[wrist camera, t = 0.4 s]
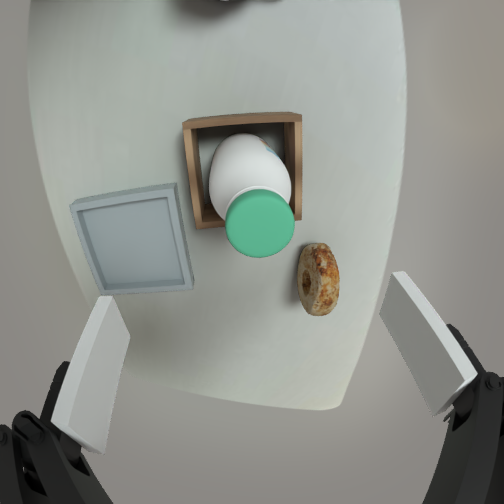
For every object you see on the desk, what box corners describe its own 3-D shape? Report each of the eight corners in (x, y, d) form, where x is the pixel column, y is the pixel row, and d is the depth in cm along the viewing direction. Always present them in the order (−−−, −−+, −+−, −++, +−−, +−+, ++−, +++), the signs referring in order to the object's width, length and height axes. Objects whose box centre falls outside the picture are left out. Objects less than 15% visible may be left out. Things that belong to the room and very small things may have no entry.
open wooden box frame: (189, 118, 31) (182, 122, 26) (289, 111, 32) (301, 114, 27) (200, 209, 38) (196, 229, 33) (290, 202, 39) (301, 220, 34)
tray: (76, 199, 35) (69, 205, 33) (176, 182, 36) (173, 188, 34) (105, 286, 43) (101, 295, 41) (194, 279, 44) (192, 289, 42)
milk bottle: (210, 185, 36) (197, 274, 19) (216, 129, 33) (206, 164, 16) (267, 191, 38) (303, 281, 21) (277, 136, 34) (331, 181, 17)
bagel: (300, 231, 41) (320, 270, 33) (324, 232, 42) (348, 269, 33) (291, 287, 47) (305, 330, 38) (312, 287, 47) (329, 329, 38)
